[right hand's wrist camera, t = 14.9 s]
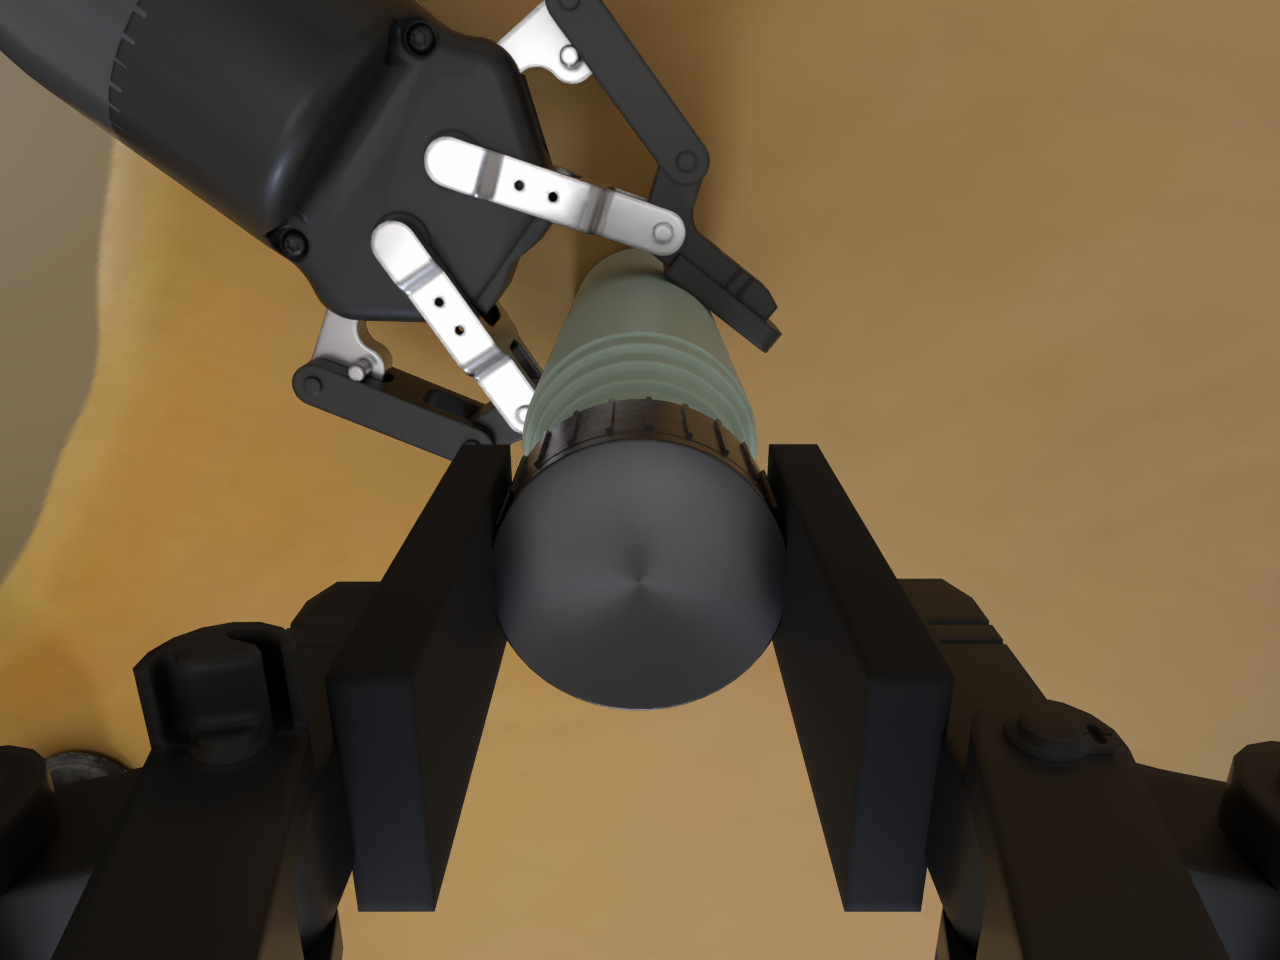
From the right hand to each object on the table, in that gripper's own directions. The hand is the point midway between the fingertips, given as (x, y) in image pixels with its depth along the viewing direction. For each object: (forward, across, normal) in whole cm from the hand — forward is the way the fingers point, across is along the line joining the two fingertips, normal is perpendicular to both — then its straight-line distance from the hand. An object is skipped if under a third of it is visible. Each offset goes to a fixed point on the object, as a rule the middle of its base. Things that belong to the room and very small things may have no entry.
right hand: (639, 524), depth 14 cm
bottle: (+19, 0, 0) cm, 19 cm away
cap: (-2, 0, 0) cm, 2 cm away
